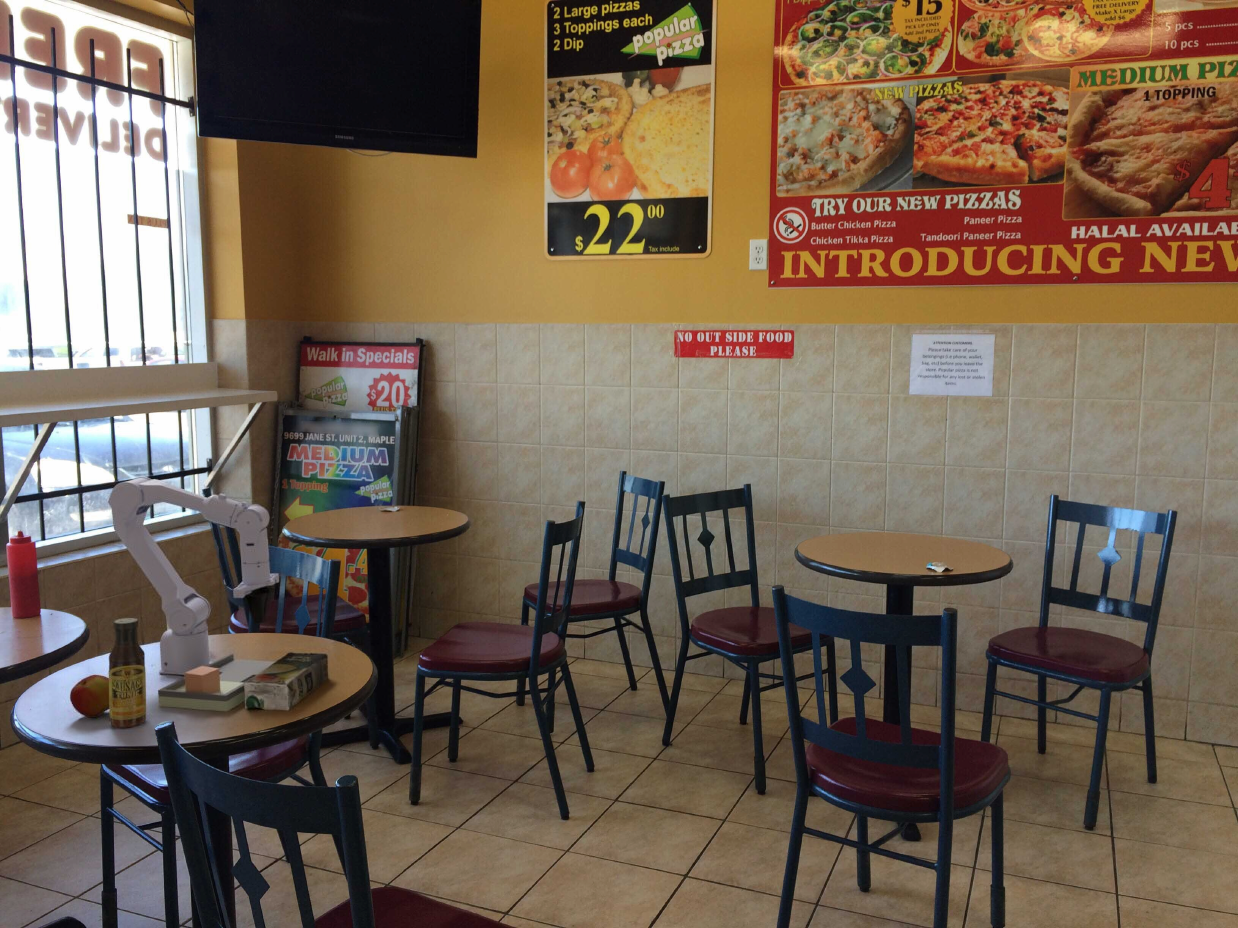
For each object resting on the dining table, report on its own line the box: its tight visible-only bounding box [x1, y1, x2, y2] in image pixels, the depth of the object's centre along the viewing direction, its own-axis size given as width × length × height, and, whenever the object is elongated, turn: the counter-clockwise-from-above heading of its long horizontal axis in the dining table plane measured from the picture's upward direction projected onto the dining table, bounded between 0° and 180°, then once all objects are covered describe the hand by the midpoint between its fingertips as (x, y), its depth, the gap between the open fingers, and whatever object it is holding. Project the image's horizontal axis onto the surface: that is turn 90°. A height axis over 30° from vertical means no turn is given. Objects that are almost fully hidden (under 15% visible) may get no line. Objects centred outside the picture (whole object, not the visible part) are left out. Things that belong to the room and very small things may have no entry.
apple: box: [69, 674, 109, 718], centre depth 190 cm, size 8×8×8 cm
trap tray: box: [157, 653, 276, 712], centre depth 205 cm, size 15×24×3 cm, turn 168°
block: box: [184, 666, 220, 693], centre depth 197 cm, size 4×4×4 cm
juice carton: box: [244, 651, 329, 711], centre depth 202 cm, size 20×10×6 cm, turn 173°
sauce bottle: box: [108, 617, 147, 729], centre depth 185 cm, size 7×6×20 cm
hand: (259, 621), depth 217 cm, fingers closed
